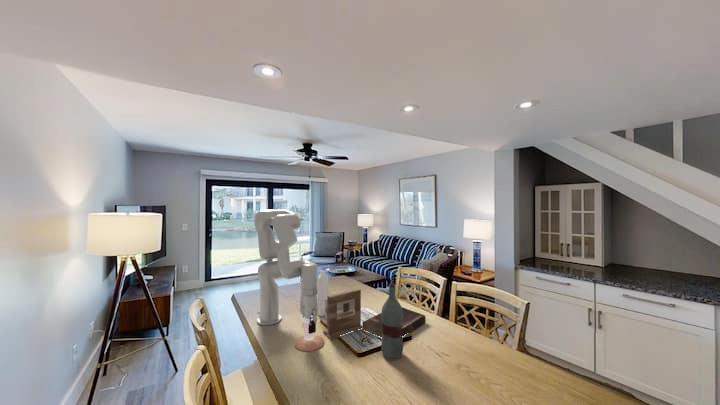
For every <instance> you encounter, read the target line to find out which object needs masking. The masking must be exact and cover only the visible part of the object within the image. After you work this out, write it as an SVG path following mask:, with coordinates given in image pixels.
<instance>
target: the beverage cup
mask: <svg viewBox="0 0 720 405" xmlns="http://www.w3.org/2000/svg"><path fill="white" fill-rule="evenodd" d="M311 317H313V316H311ZM312 320H313V318H312V319H311V321H312ZM302 327H303V336H304V339H305V340H313V339H314V336H315V335H316V332H315V333H311V334H309V319H306V318H305V317H303V316H302Z"/></svg>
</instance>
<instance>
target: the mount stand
mask: <svg viewBox="0 0 720 405" xmlns="http://www.w3.org/2000/svg"><path fill="white" fill-rule="evenodd" d="M361 297H362V294H361V289H358V288H357V289H354V290H353V289H352V290H349V291H344V292H340V293H336V294H335V293H334V294H332V295H330V294H329V296H327V298H326V299H325V316H324V318H325V320H327V322H326V325H327V326H326V327H327V328H325V329H323V330H322V334H324V335H325V336H326V337H327V338H328V339H329V340H333V339H337V338H340V337H339V336H340V335H343V334H346V333H348V332H351V331H355V330H358V329H361V328H362V329H363V325H362V322H361V321H362V319H361V316H362V314H361V313H362V310H361V307H362V302H361V301H362V300H361V299H362V298H361Z"/></svg>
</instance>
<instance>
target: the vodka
mask: <svg viewBox="0 0 720 405" xmlns="http://www.w3.org/2000/svg"><path fill="white" fill-rule="evenodd" d="M388 286H389V287H388V297H387V299H386V300H385V302H384V304H383V305H382V308H381V312H380V313H381V319H382V331H383V334H382V339H381V343H380V346H381V354H382V357H383V358H384V359H386V360H389V361H397V360H400V359H401V358H402V356H403V351H404V343H403V342H404V341H403V338H402V323H403V311H402V307H403V306H402V305H401V304H400V302H399V299H397V297H396V284H395V283H389V284H388Z"/></svg>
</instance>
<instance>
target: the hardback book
mask: <svg viewBox="0 0 720 405" xmlns="http://www.w3.org/2000/svg"><path fill="white" fill-rule="evenodd" d="M401 307H402V311H403V323H402V336H404V335H405V334H407V333H410V334H411V333H412V332H414V331H416V330H417V329H418V328H420V327H422V326H423V325H425V324H426V322H427V321H426V315H425V314H422V313H421V312H418V311H417V312H416V311H414V310H410V309H408V308H405V307H403V306H401ZM363 330H365V331H368V332H370V333H372V334H375V335H377V336H380V337H382V334H383V331H382V319H381V312H380V313H378V314H376V315H374V316H372V317H370V318H367V319H365V320H364V321H362V331H363Z"/></svg>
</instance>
